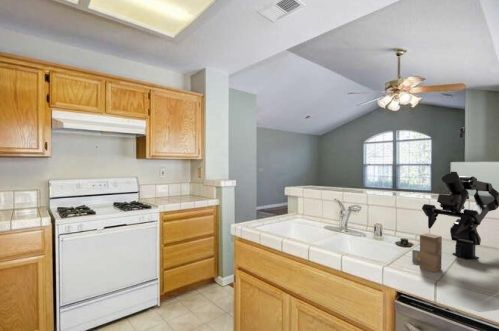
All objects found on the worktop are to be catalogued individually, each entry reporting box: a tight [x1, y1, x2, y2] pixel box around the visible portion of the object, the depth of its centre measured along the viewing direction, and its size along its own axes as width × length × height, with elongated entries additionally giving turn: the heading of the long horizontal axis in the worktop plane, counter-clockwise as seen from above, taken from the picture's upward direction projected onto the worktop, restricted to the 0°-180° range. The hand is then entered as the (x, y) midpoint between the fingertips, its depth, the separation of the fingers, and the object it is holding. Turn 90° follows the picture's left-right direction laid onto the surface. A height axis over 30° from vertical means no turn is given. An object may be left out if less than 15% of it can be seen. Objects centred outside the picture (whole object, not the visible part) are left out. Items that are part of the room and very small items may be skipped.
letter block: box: [411, 246, 420, 263], centre depth 108 cm, size 5×4×4 cm
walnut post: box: [419, 232, 443, 273], centre depth 100 cm, size 5×5×12 cm
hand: (441, 230), depth 103 cm, fingers open, 9 cm apart
